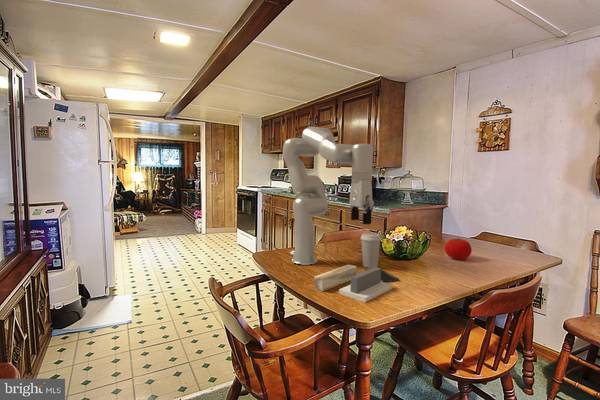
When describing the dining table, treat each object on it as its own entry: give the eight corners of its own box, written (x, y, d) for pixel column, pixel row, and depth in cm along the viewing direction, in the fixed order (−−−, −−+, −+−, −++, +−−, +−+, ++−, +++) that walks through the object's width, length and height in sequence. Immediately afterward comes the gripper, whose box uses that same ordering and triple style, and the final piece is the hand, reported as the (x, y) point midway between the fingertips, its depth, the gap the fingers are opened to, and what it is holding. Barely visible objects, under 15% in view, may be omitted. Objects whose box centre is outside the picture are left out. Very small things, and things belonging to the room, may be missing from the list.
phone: (379, 268, 142) (400, 279, 128) (379, 270, 142) (399, 281, 128) (363, 270, 139) (383, 281, 125) (363, 272, 140) (383, 283, 125)
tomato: (475, 260, 158) (477, 239, 158) (457, 262, 154) (458, 241, 153) (457, 255, 169) (458, 235, 168) (439, 257, 164) (440, 237, 163)
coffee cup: (381, 269, 142) (382, 236, 141) (359, 268, 144) (360, 235, 143) (380, 263, 152) (381, 232, 150) (359, 262, 153) (360, 231, 152)
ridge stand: (339, 293, 114) (339, 274, 114) (366, 281, 127) (367, 264, 126) (365, 302, 107) (365, 282, 106) (391, 288, 119) (392, 270, 119)
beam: (314, 289, 119) (314, 276, 118) (348, 275, 134) (348, 264, 134) (322, 292, 116) (322, 279, 115) (356, 278, 132) (356, 266, 131)
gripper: (343, 176, 127) (342, 218, 129) (363, 177, 111) (362, 226, 112) (360, 176, 129) (359, 218, 131) (382, 177, 113) (381, 225, 115)
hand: (360, 221), depth 122 cm, fingers open, 9 cm apart
